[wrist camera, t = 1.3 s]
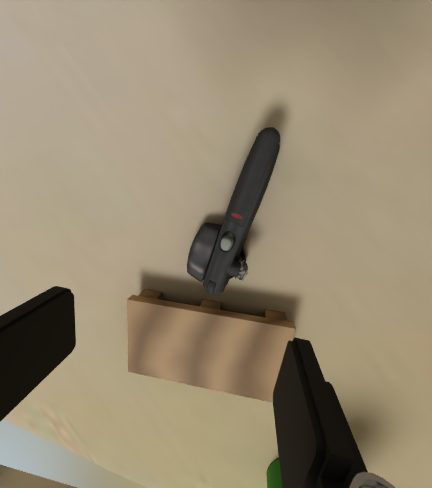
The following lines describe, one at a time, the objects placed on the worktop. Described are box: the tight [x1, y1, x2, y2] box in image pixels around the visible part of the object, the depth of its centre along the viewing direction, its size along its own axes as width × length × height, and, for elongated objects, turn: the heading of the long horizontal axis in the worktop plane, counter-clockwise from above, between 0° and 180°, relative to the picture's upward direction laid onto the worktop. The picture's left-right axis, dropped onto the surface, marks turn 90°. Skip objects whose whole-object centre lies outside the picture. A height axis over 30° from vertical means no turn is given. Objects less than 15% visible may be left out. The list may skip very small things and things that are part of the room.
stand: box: [127, 290, 296, 402], centre depth 29 cm, size 20×11×3 cm, turn 84°
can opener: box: [187, 127, 280, 295], centre depth 23 cm, size 18×7×6 cm, turn 157°
